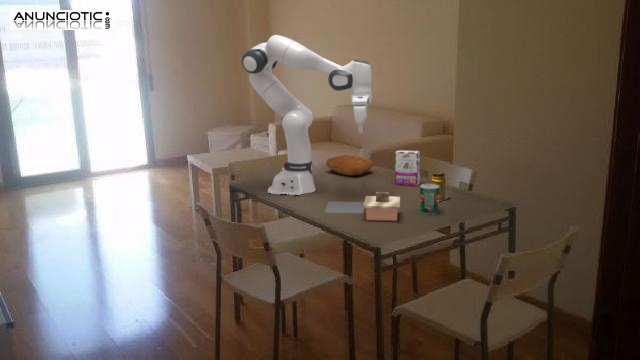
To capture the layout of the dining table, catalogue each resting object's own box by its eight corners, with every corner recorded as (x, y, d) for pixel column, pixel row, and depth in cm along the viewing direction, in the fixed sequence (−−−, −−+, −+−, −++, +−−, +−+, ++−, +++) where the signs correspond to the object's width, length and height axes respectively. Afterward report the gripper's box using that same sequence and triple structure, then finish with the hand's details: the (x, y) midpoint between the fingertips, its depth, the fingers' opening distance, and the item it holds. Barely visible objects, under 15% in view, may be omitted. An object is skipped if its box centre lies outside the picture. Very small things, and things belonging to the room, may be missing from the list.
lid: (363, 207, 235) (363, 197, 234) (365, 197, 249) (365, 187, 248) (399, 208, 233) (399, 197, 232) (400, 198, 247) (400, 188, 246)
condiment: (427, 199, 265) (427, 173, 262) (436, 195, 271) (437, 169, 268) (441, 202, 261) (442, 175, 258) (451, 198, 267) (452, 171, 264)
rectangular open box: (366, 221, 238) (366, 207, 236) (368, 212, 249) (368, 198, 248) (396, 222, 236) (397, 207, 234) (397, 213, 247) (397, 199, 246)
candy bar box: (419, 183, 291) (420, 150, 287) (417, 186, 287) (418, 152, 282) (397, 182, 295) (397, 149, 291) (394, 184, 291) (394, 151, 287)
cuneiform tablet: (323, 172, 318) (323, 157, 316) (346, 167, 329) (345, 152, 327) (354, 179, 302) (354, 164, 300) (376, 173, 314) (376, 158, 312)
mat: (324, 213, 249) (324, 212, 249) (329, 202, 264) (329, 201, 264) (362, 214, 247) (362, 213, 246) (365, 203, 262) (365, 202, 262)
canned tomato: (442, 213, 246) (443, 187, 243) (424, 215, 244) (425, 189, 241) (433, 207, 253) (434, 182, 250) (416, 210, 251) (416, 184, 248)
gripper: (355, 95, 266) (355, 126, 269) (351, 101, 246) (351, 134, 250) (369, 95, 265) (370, 126, 269) (367, 101, 245) (367, 134, 249)
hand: (361, 130), depth 259 cm, fingers open, 8 cm apart
